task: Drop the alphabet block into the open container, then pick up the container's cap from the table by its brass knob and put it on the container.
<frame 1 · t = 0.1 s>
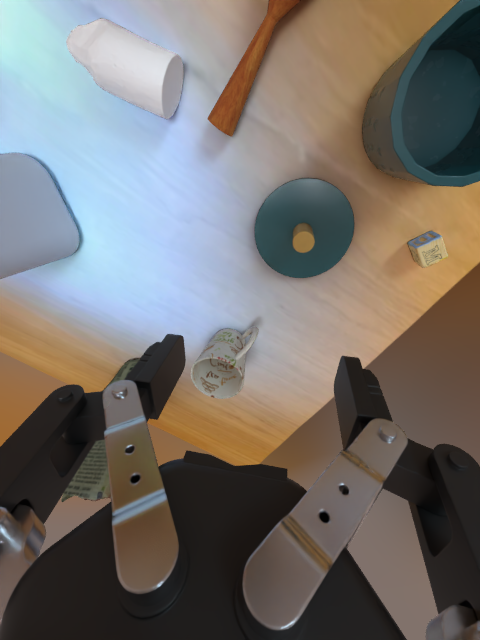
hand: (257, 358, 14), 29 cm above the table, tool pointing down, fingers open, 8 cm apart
alphabet block: (422, 245, 37), on the table
plastic bottle: (32, 212, 44), on the table
pouch: (145, 377, 59), on the table
mug: (237, 334, 49), on the table
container: (420, 116, 30), on the table
cap: (302, 231, 38), point 1 cm above the table
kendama: (271, 32, 29), on the table
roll: (135, 72, 33), on the table
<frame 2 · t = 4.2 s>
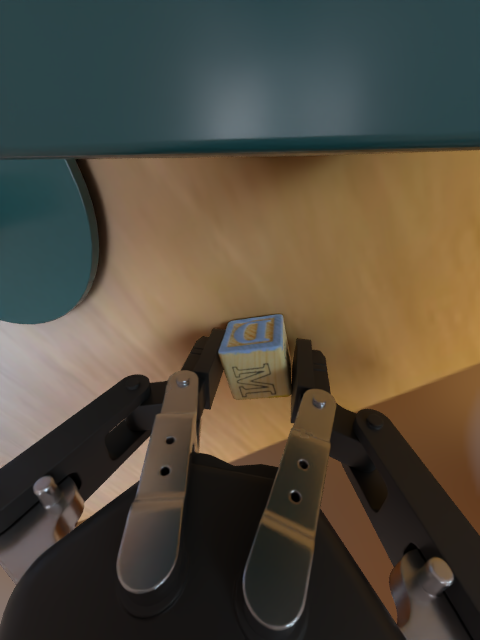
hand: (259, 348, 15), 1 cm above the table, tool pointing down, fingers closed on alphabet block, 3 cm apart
alphabet block: (261, 337, 16), on the table, touching gripper
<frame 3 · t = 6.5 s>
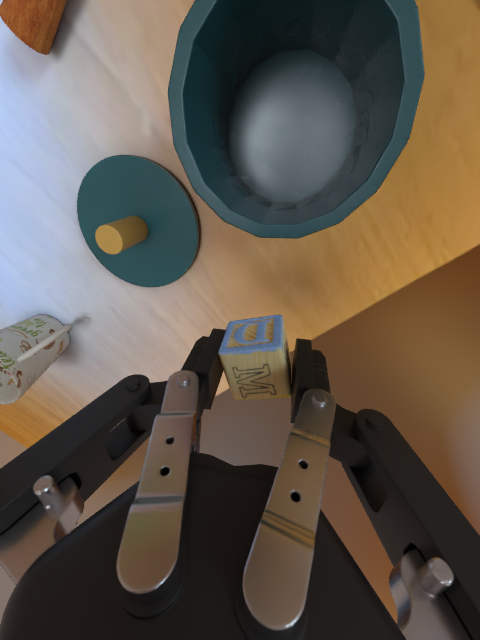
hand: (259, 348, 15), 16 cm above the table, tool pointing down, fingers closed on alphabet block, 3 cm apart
alphabet block: (261, 338, 16), point 15 cm above the table, touching gripper
mug: (60, 326, 39), on the table
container: (289, 135, 23), on the table
cap: (139, 227, 29), point 1 cm above the table
when the fingers open (13 cm above the table, at t = 9.1 s): alphabet block drops 10 cm, resting on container.
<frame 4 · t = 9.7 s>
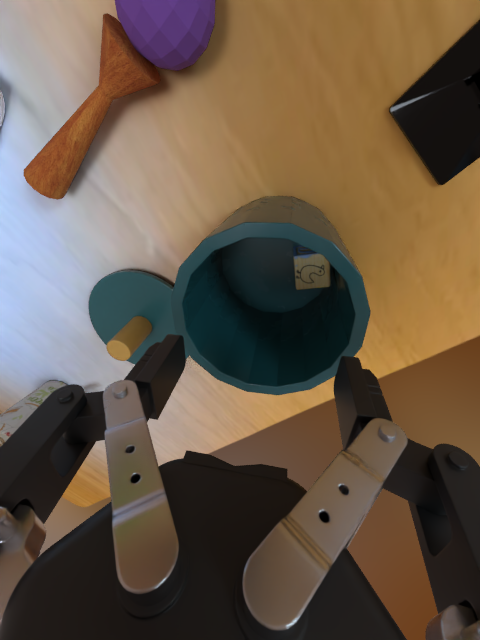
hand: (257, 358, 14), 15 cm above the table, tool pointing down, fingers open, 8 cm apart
alphabet block: (291, 268, 25), point 2 cm above the table, touching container
mug: (71, 389, 43), on the table
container: (275, 262, 27), on the table
cap: (144, 322, 33), point 1 cm above the table
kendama: (123, 101, 22), on the table
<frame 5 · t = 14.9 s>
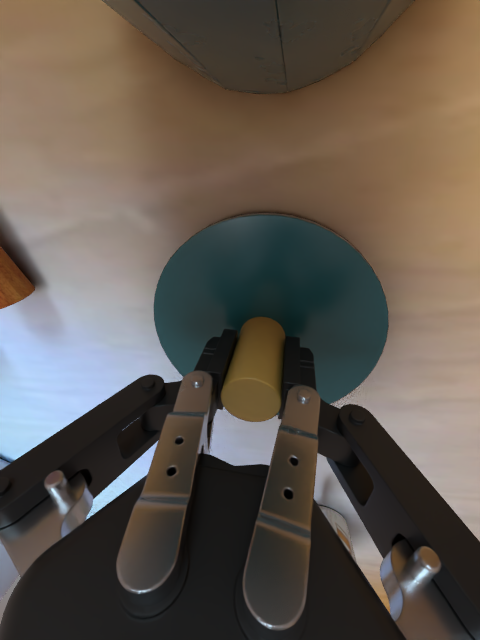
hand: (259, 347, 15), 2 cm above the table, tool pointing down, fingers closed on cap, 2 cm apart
plastic bottle: (13, 484, 36), on the table
mug: (315, 506, 26), on the table
cap: (263, 330, 16), point 1 cm above the table, touching gripper
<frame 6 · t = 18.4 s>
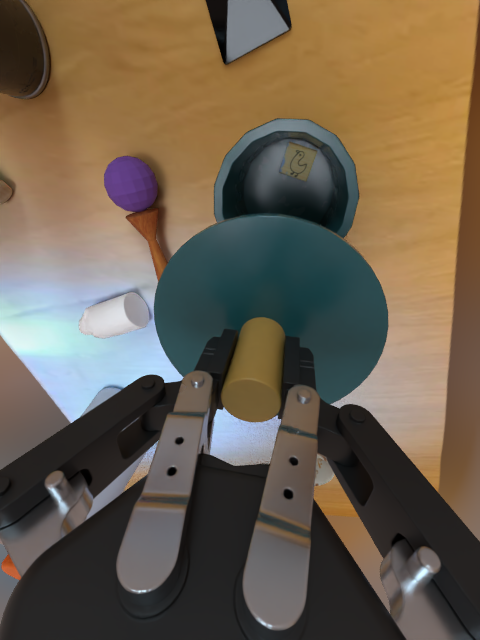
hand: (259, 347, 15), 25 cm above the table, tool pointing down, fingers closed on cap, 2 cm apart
alphabet block: (291, 179, 30), point 2 cm above the table, touching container
plastic bottle: (128, 413, 61), on the table
mug: (305, 411, 51), on the table
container: (287, 192, 33), on the table
cap: (263, 330, 16), point 23 cm above the table, touching gripper
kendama: (161, 237, 39), on the table
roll: (118, 311, 47), on the table
when the fingers open (13 cm above the table, at t = 21.9 s): cap stays where it is, resting on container.
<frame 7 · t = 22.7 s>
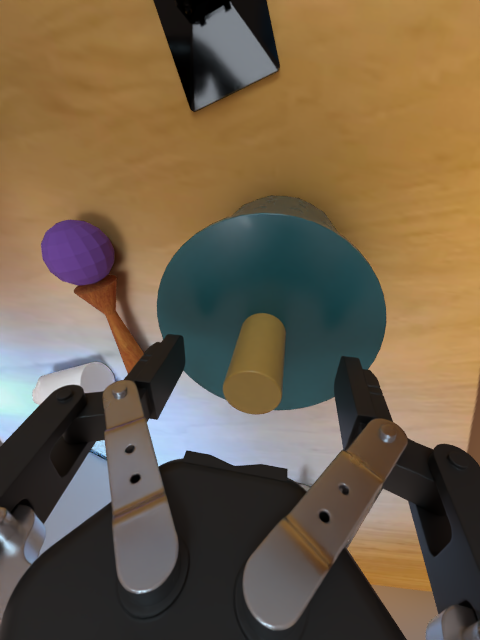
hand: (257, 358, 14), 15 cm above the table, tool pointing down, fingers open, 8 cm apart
plastic bottle: (100, 473, 55), on the table
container: (275, 263, 26), on the table
cap: (264, 326, 17), point 11 cm above the table, touching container
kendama: (124, 303, 32), on the table
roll: (80, 376, 40), on the table
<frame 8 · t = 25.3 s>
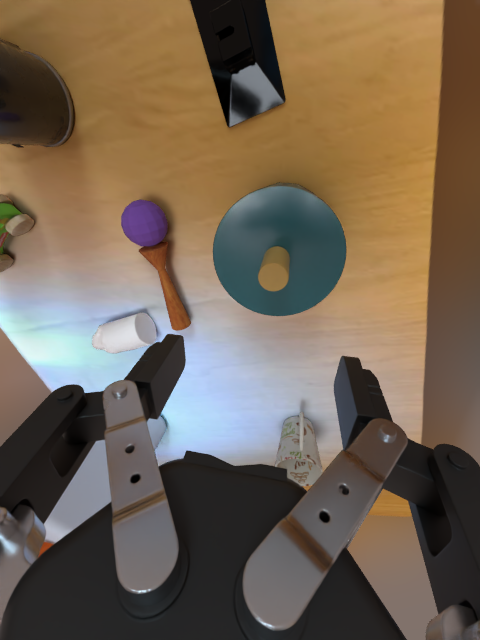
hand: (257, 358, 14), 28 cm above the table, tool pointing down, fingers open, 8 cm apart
toy lion: (8, 237, 46), on the table
plastic bottle: (134, 419, 66), on the table
mug: (298, 418, 56), on the table
cap: (277, 257, 28), point 11 cm above the table, touching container
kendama: (168, 265, 44), on the table
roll: (128, 327, 52), on the table
black stand: (239, 47, 29), on the table
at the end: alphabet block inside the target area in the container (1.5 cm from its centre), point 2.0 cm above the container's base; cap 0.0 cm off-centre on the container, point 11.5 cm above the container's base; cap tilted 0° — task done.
